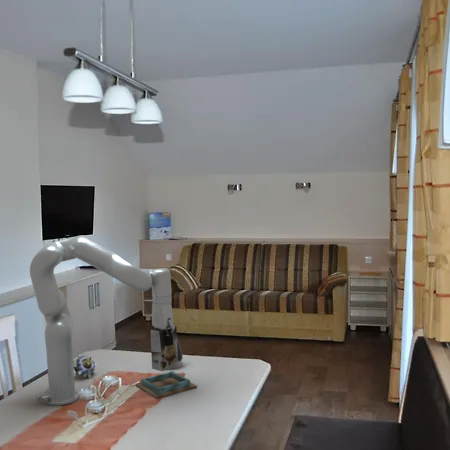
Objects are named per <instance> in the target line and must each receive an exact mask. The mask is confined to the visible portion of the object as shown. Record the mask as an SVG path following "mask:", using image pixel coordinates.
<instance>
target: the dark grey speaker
mask: <svg viewBox="0 0 450 450" xmlns="http://www.w3.org/2000/svg"><path fill="white" fill-rule="evenodd" d="M180 344H181V343H180V341H179V339H178V338H177V350H178V365H177V366H175V367H173V368H170V369H169V370H171V369H177V368H178V367H180V366H181V364H182V361H183V357H184V356H183V351H182V347H181V345H180Z"/></svg>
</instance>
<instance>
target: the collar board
mask: <svg viewBox="0 0 450 450" xmlns="http://www.w3.org/2000/svg"><path fill="white" fill-rule="evenodd" d="M135 387H136V388H138V389H139V388H140V389H139V390H141V391H142V390H143V391H142V392H144V393H146V394H147V395H148V396H151V397H152V398H154V399H155V400H160V399H163V398H167V397H171V396H173V395H177V394H181V393H184V392H188V391H191V390H195V389H197V388H198V385H196V384H195V383H193V382H191V380H190V379H188V378H187V377H185V376H182V375H180V374H179V373H177V372H175V371H172V370H171V371H167V372H164V373H160V374H157V375H151V376H148V377H144V378H141V380H140V382H137V383H135Z"/></svg>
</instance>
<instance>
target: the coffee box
mask: <svg viewBox="0 0 450 450" xmlns="http://www.w3.org/2000/svg"><path fill="white" fill-rule="evenodd" d="M174 326H175V325H174ZM166 328H168V327H166ZM167 331H169V330H167ZM165 336H166V334H165V330H160V329H158V328H151V329H150V348H151V349H150V350H151V351H150V352H151V353H150V354H151V369H152V370H156V371H159V372H165V371H168V370H171V369H170V368H173V367H175V366H177V365H178V350H177V339H178V331H177V326H175V329H174V333H173V345H170V346H166V345H165ZM173 369H174V368H173Z"/></svg>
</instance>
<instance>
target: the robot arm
mask: <svg viewBox="0 0 450 450" xmlns="http://www.w3.org/2000/svg"><path fill="white" fill-rule="evenodd" d="M75 259H78V260H81V261H82V262H84V263H86V264H88V265H90V266H92V267H94V268H96V269H97V270H99V271H101V272H103V273H105V274H106V275H108V276H109V277H111V278H114V279H115V280H117V281H119V282H121V283H123V284H124V285H126V286H129V287H131V288H132V289H134V290H136V291H138V292H147V291H148V290H150V289H151V294H152V295H151V297H152V305H151V325H152V327H154V328H158V329H160V330H165V334H166V336H165V345H166V346H170V345H173V333H174V329H175V325H174V314H173V313H174V312H173V308H172V302H173V301H172V299H173V298H172V281H171V279H172V278H171V270H170V269H169V268H166V267H163V268H162V267H161V268H160V267H159V268H153V269H151V268H138V267H136V266H134V265H133V264H131V263H129V262H128V261H126V260H124V259H123V257H121V256H120V255H119V254H118V253H116V252H114V251H112V250H111V249H109V248H107V247H105V246H103V245H100V244H99V243H98V242H95V241H93V240H92V239H91V238H90V237H89V236H87V235H82V234H81V235H77V236H73V237H70V238H66V239H61V240H60V239H59V240H56V241H52V242H49V243H47V244H45V245H44V246H43V247H42V248H41V249H40V250H39V251H38V252H37V253H36V254H35V255H34V257H33V258H32V260H31V262H30V265H29V276H30V279H31V284H32V287H33V291H34V295H35V299H36V302H37V306H38V307H37V308H38V310H39V311H40V313H41V314H42V315H43V316H44V319H45V322H46V326H45V328H44V329H45V330H44V341H45V349H46V364H47V378H48V379H47V381H48V383H47V384H48V388H46V391H44V392H42V393H37V394H35V399H36V400H38V401H39V400H42V401H44V402H45V403H46V404H47V405H50V406H65V405H68V404H72V403H75V402H76V401H78V399H79V398H80V393H79V392H78V391H76V388H75V387H76V385H75V370H74V367H73V365H74V364H73V361H74V356H73V355H74V354H73V352H74V351H73V340H72V339H73V338H72V337H73V335H72V330H73V320H72V316H71V314H70V310H69V307H68V304H67V300H66V297H65V294H64V293H63V291H62V290H61V289H59V286H58V284H57V280H56V276H55V272H54V271H55V270H54V269H55V268H56V267H57V266H58V265H60V264H61V263H62V262H66V261H70V260H75ZM166 327H168V328H166ZM154 328H153V329H154ZM167 330H169V331H167Z"/></svg>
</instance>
